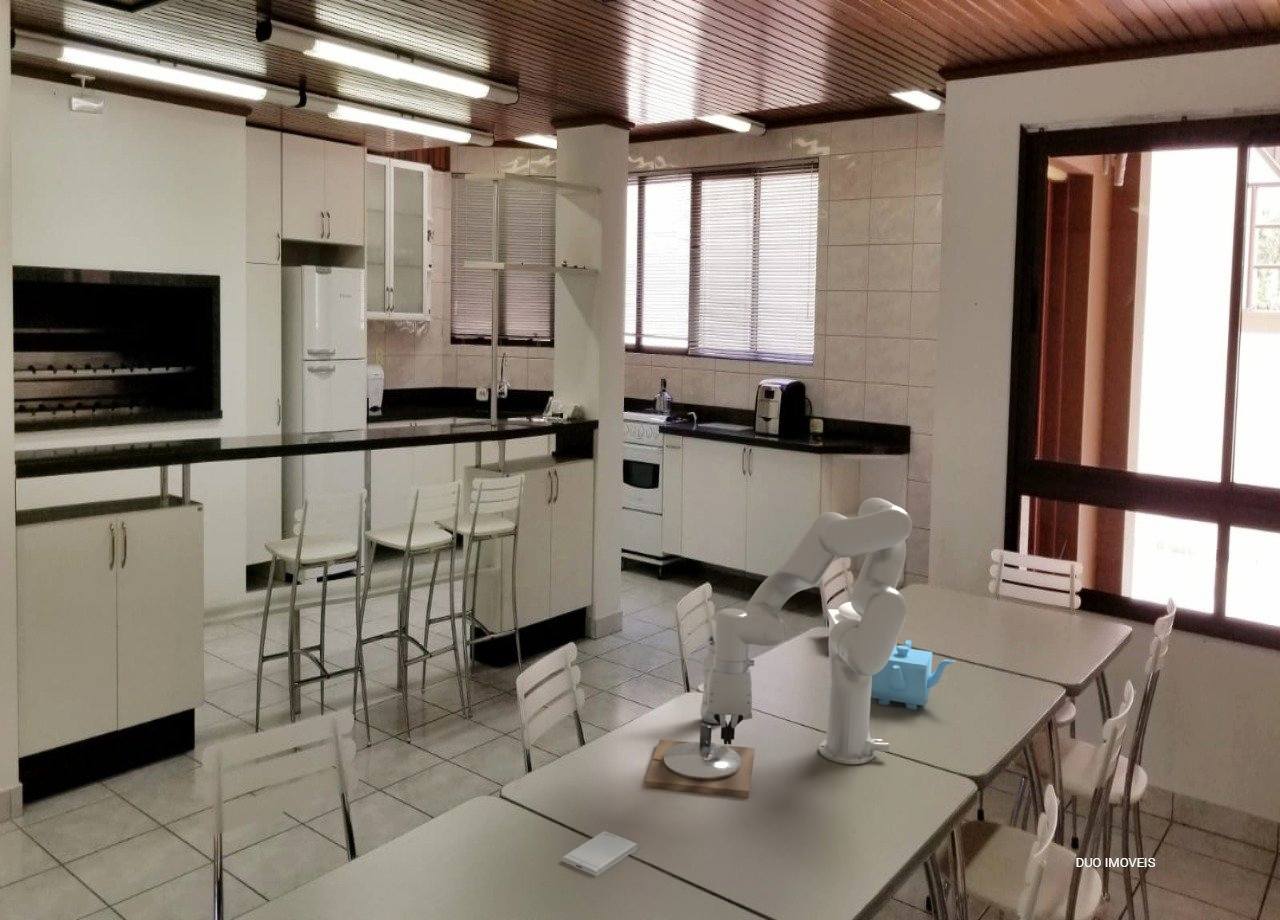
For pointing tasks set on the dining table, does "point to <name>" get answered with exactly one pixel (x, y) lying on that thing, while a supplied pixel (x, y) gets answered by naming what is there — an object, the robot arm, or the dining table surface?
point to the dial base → (726, 786)
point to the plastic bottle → (706, 667)
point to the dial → (702, 758)
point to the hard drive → (600, 853)
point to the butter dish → (843, 615)
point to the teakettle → (907, 677)
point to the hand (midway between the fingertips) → (727, 742)
